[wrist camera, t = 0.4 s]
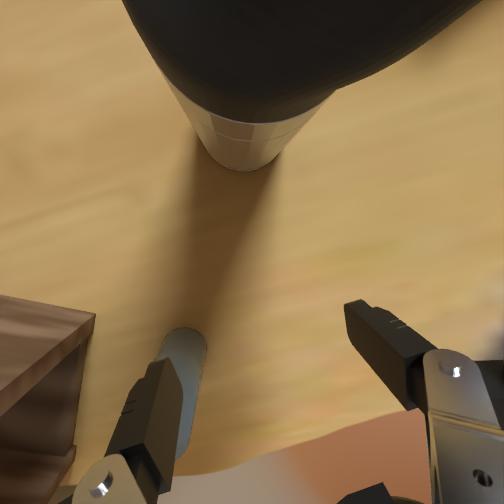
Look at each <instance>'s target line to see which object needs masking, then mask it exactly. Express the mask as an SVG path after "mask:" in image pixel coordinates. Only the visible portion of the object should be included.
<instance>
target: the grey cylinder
mask: <svg viewBox="0 0 504 504" xmlns="http://www.w3.org/2000/svg"><path fill="white" fill-rule="evenodd" d="M206 351H207V344H206V341H205V339H204V337H203V336H202V335H201V334H200V333H199V332H197V331H196V330H193V329H190V328H179V329H176V330H173V331H172V332H170V333H169V334H168V335H167V336H166V338H165V339H164V341H163V343H162V345H161V347H160V349H159V351H158V353H157V355H156V357H155V359H154V361H157V360H161V359H164V358H167V357H168V358H170V360H171V362H172V364H173V366H174V368H175V371H176V373H177V375H178V378H179V380H180V382H181V385H182V389H183V404H182V412H181V419H180V426H179V433H178V440H177V448H176V455H175V460H176V459H178V458H179V457H180V456H181V455H182V454H183V453H184V452H185V450H186V449H187V446H188V444H189V439H190V434H191V429H192V423H193V418H194V413H195V408H196V403H197V398H198V392H199V387H200V382H201V377H202V372H203V367H204V362H205V356H206ZM154 361H153V362H154Z"/></svg>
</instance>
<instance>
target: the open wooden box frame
mask: <svg viewBox="0 0 504 504" xmlns="http://www.w3.org/2000/svg"><path fill="white" fill-rule="evenodd" d="M95 315H96V314H95V313H90V312H85V311H80V310H75V309H70V308H64V307H59V306H54V305H49V304H44V303H39V302H34V301H29V300H24V299H18V298H13V297H8V296H3V295H0V504H47V503H48V502H49V500H50V499H51V497H52V495H53V494H54V492H55V491H56V489H57V487H58V486H59V484H60V482H61V481H62V479H63V478H64V476H65V474H66V473H67V471H68V470H69V468H70V466H71V465H72V463H73V462H74V459H75V453H76V446H73V439H74V432H75V425H76V418H77V411H78V403H79V396H80V389H81V382H82V375H83V368H84V361H85V354H86V347H87V340H88V336H89V335H90V334H91V333H92V332H93V329H94V322H95Z"/></svg>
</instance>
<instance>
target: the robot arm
mask: <svg viewBox="0 0 504 504" xmlns="http://www.w3.org/2000/svg"><path fill="white" fill-rule="evenodd" d="M480 1H482V0H122V2H123V4H124V6H125V8H126V10H127V12H128V14H129V16H130V18H131V21H132V23H133V25H134V26H135V28H136V30H137V32H138V33H139V35H140V37H141V38H142V40H143V42H144V44H145V45H146V47H147V49H148V51H149V52H150V54H151V56H152V58H153V59H154V61H155V63H156V64H157V66H158V68H159V70H160V71H161V73H162V75H163V76H164V78H165V80H166V82H167V83H168V85H169V87H170V88H171V90H172V91H173V93H174V95H175V96H176V98H177V100H178V102H179V103H180V105H181V107H182V108H183V110H184V112H185V114H186V115H187V117H188V119H189V121H190V122H191V124H192V126H193V127H194V129H195V131H196V133H197V134H198V136H199V138H200V140H201V141H202V143H203V145H204V146H205V148H206V150H207V151H208V153H209V154H210V155H211V156H212V158H213V159H214V160H215V161H217V162H218V163H219V164H221V165H222V166H224V167H226V168H228V169H230V170H234V171H239V172H248V171H253V170H257V169H259V168H261V167H264V166H265V165H267V164H268V163H269V162H271V161H272V160H273V159H274V158H275V157H276V155H277V154H278V153H279V152H280V151H281V150H282V149H283V148H284V147H285V146H286V145H287V144H288V143H289V142H290V140H291V139H292V138H293V137H294V136H295V135H296V134H297V133H298V132H299V131H300V130H301V128H302V127H303V126H304V125H305V124H306V123H307V122H308V121H309V120H310V119H311V117H312V116H313V115H314V114H315V113H316V112H317V111H318V109H319V108H320V107H321V106H322V105H323V104H324V103H325V102H326V101H327V100H328V98H329V97H330V96H331V95H332V94H333V93H334V92H335V91H336V90H337V89H339V88H342V87H345V86H347V85H350V84H352V83H355V82H357V81H359V80H362V79H364V78H366V77H368V76H371V75H373V74H375V73H377V72H379V71H381V70H383V69H385V68H387V67H388V66H390V65H392V64H394V63H395V62H397V61H399V60H401V59H402V58H404V57H405V56H407V55H408V54H410V53H411V52H413V51H414V50H416V49H417V48H419V47H420V46H421V45H423V44H424V43H426V42H427V41H428V40H430V39H431V38H433V37H434V36H435V35H437V34H438V33H439V32H441V31H442V30H443V29H445V28H446V27H448V26H449V25H450V24H451V23H453V22H454V21H455V20H457V19H458V18H459V17H461V16H462V15H463V14H465V13H466V12H467V11H468V10H470V9H471V8H472V7H474V6H475V5H476V4H478V3H479V2H480ZM344 313H345V320H346V327H347V333H348V337H349V339H350V341H351V343H352V345H353V346H354V347H355V349H356V350H357V351H358V352H359V354H360V355H361V356H362V357H363V358H364V360H365V361H366V362H367V363H368V364H369V366H370V367H371V368H372V369H373V370H374V372H375V373H376V374H377V375H378V376H379V378H380V379H381V380H382V381H383V382H384V384H385V385H386V386H387V387H388V389H389V390H390V391H391V392H392V393H393V395H394V396H395V397H396V398H397V399H398V401H399V402H400V403H401V404H402V405H403V407H404V408H405V409H406V410H407V411H410V410H412V409H415V408H419V409H420V410H421V411H422V412H423V413H424V422H425V432H426V441H427V452H428V461H429V472H430V483H431V500H432V504H504V359H503V360H488V361H473V360H471V359H470V358H469V357H467V356H465V355H463V354H461V353H459V352H456V351H453V350H448V349H438V348H437V347H435V346H434V345H433V344H431V343H430V342H429V341H427V340H426V339H425V338H423V337H422V336H421V335H420V334H418V333H417V332H416V331H414V330H413V329H412V328H410V327H409V326H407V325H406V324H405V323H404V322H402V321H401V320H399V319H398V318H397V317H396V316H395V315H393V314H392V313H391V312H389V311H387V310H384V309H382V308H379V307H374V308H372V307H371V306H369V305H368V304H367V303H366V302H365V301H363V300H362V299H360V300H356V301H353V302H350V303H346V304H344ZM182 404H183V389H182V385H181V382H180V380H179V378H178V375H177V373H176V371H175V368H174V366H173V364H172V362H171V360H170V358H168V357H167V358H164V359H161V360H157V361H154V362H151V363H150V364H149V365H148V368H147V371H146V374H145V377H144V378H141V379H139V380H138V381H137V382H136V384H135V385H134V386H133V388H132V389H131V390H130V392H129V395H128V397H127V400H126V402H125V406H124V408H123V410H122V413H121V416H120V418H119V420H118V423H117V425H116V428H115V430H114V433H113V435H112V438H111V440H110V443H109V446H108V448H107V451H106V453H105V456H104V458H103V459H101V460H99V461H98V462H97V463H96V464H94V465H93V466H92V467H91V468H90V469H89V470H88V471H87V472H86V474H85V475H84V476H83V477H82V479H81V480H80V482H79V484H78V485H77V487H76V489H75V492H74V494H72V495H71V496H69V497H68V498H66V499H65V500H63V501H61V502H60V503H58V504H157V499H158V495H160V494H163V493H166V492H169V491H170V490H171V484H172V476H173V469H174V462H175V455H176V448H177V440H178V433H179V426H180V419H181V412H182ZM337 504H424V503H421V502H419V501H416V500H412V499H409V498H404V497H398V496H390V494H389V493H388V491H387V489H386V487H385V485H384V484H383V482H382V483H379V484H376V485H373V486H371V487H368V488H365V489H362V490H360V491H357V492H354V493H352V494H349V495H347V496H345V497H344V498H343V499H342V500H341V501H339V502H338V503H337Z"/></svg>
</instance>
